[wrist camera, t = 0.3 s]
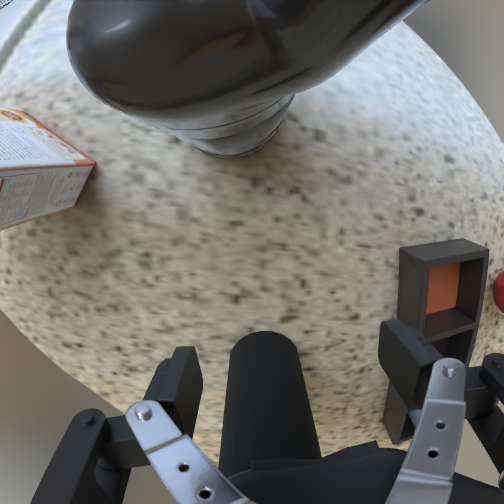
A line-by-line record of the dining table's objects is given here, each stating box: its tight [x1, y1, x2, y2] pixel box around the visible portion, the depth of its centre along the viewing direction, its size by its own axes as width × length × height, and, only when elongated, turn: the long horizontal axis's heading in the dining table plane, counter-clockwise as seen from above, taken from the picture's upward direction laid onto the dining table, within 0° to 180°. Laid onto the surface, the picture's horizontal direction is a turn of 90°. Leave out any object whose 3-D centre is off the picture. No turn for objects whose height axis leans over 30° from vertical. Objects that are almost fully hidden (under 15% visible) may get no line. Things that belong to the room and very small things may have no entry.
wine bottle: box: [218, 331, 322, 479], centre depth 17 cm, size 8×8×30 cm
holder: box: [382, 238, 489, 445], centre depth 29 cm, size 26×9×5 cm, turn 7°
